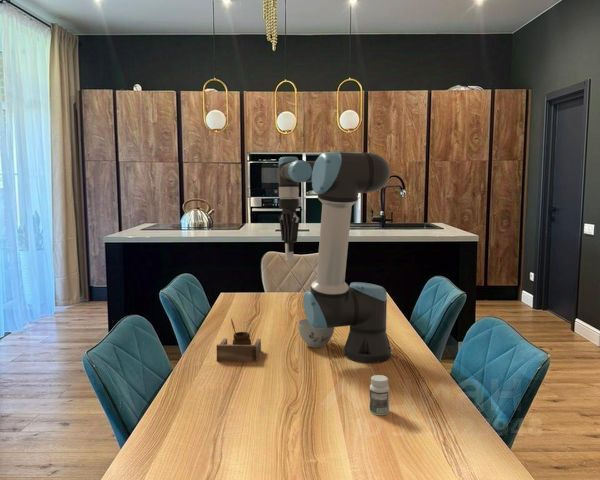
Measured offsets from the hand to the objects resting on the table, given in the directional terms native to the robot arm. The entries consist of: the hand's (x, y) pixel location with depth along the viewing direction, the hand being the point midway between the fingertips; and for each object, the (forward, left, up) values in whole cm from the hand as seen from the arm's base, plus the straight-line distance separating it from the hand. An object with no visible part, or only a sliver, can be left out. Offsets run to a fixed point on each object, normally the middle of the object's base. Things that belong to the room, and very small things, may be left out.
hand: (289, 260), depth 195 cm
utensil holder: (-21, +30, -26) cm, 45 cm away
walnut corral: (-21, +30, -26) cm, 45 cm away
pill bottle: (-76, +18, -26) cm, 83 cm away
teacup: (-24, +3, -26) cm, 36 cm away
